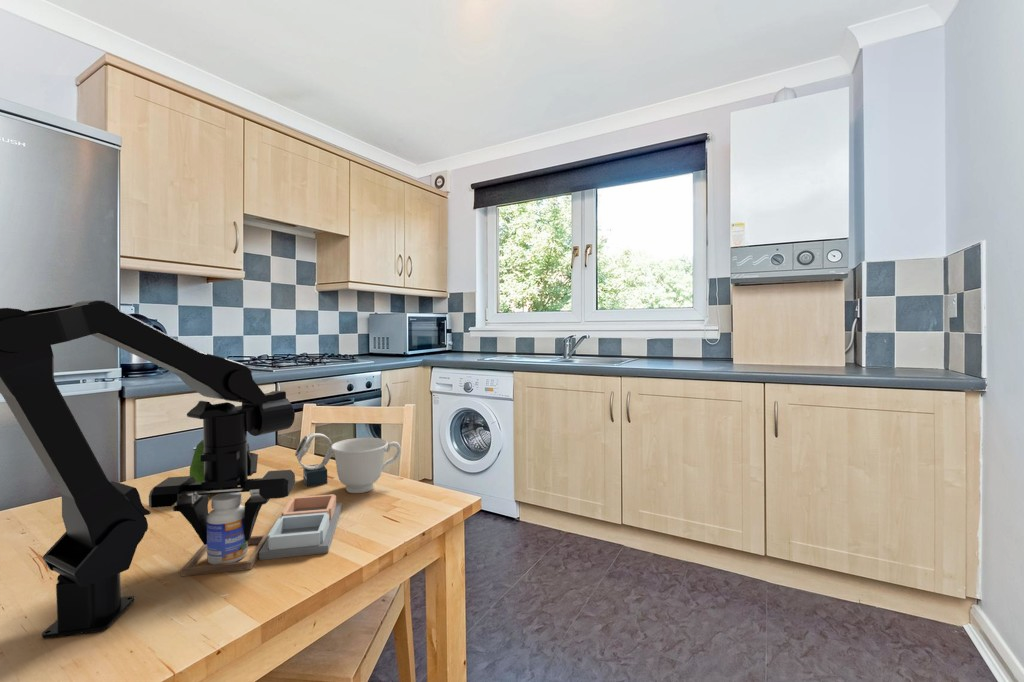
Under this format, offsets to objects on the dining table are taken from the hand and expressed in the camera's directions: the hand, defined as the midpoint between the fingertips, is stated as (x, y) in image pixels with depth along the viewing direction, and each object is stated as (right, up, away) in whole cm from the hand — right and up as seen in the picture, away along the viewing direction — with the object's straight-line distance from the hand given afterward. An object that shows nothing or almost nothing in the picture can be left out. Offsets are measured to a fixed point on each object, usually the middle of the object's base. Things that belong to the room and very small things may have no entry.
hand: (227, 541), depth 73 cm
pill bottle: (0, -3, 0) cm, 3 cm away
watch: (-1, -1, +35) cm, 35 cm away
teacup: (+12, -2, +31) cm, 33 cm away
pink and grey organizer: (+8, -2, +9) cm, 12 cm away
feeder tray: (0, -3, 0) cm, 2 cm away
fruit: (-20, -2, +27) cm, 34 cm away
